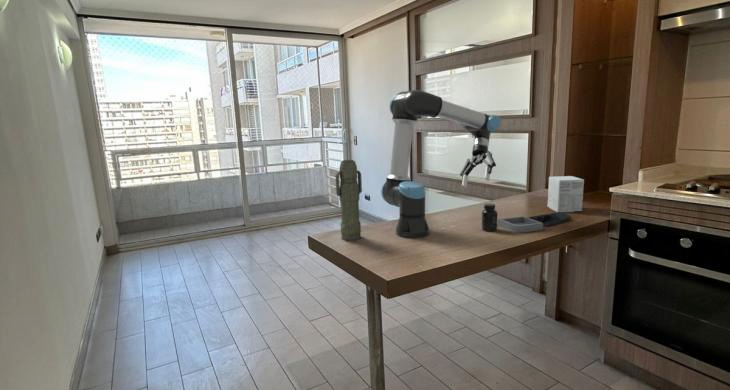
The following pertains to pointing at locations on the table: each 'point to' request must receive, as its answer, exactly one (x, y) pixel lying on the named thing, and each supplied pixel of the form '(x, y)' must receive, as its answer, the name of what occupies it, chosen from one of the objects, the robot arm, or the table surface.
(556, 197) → the supplement box
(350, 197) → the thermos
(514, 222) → the tray
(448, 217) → the table surface
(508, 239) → the table surface
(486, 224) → the supplement bottle
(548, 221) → the dark slate chunk
